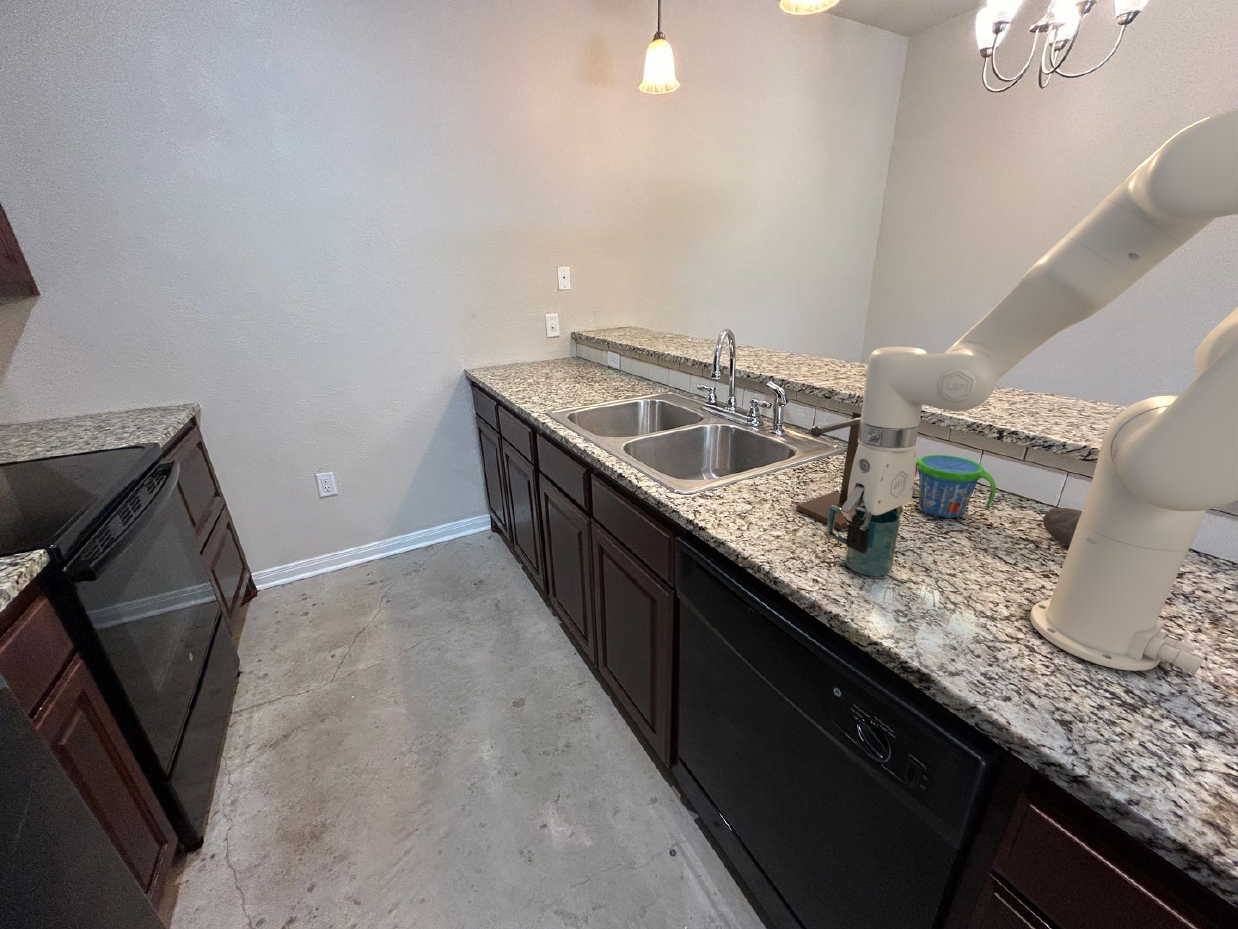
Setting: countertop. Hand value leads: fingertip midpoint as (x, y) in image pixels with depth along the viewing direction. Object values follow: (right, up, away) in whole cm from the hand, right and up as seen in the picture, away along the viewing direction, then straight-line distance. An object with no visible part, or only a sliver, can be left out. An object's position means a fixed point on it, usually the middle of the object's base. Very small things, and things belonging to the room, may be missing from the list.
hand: (871, 541), depth 79 cm
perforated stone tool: (+38, -3, +5) cm, 39 cm away
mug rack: (+1, +2, +19) cm, 20 cm away
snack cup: (+24, +3, +20) cm, 32 cm away
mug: (-1, -3, +3) cm, 5 cm away
